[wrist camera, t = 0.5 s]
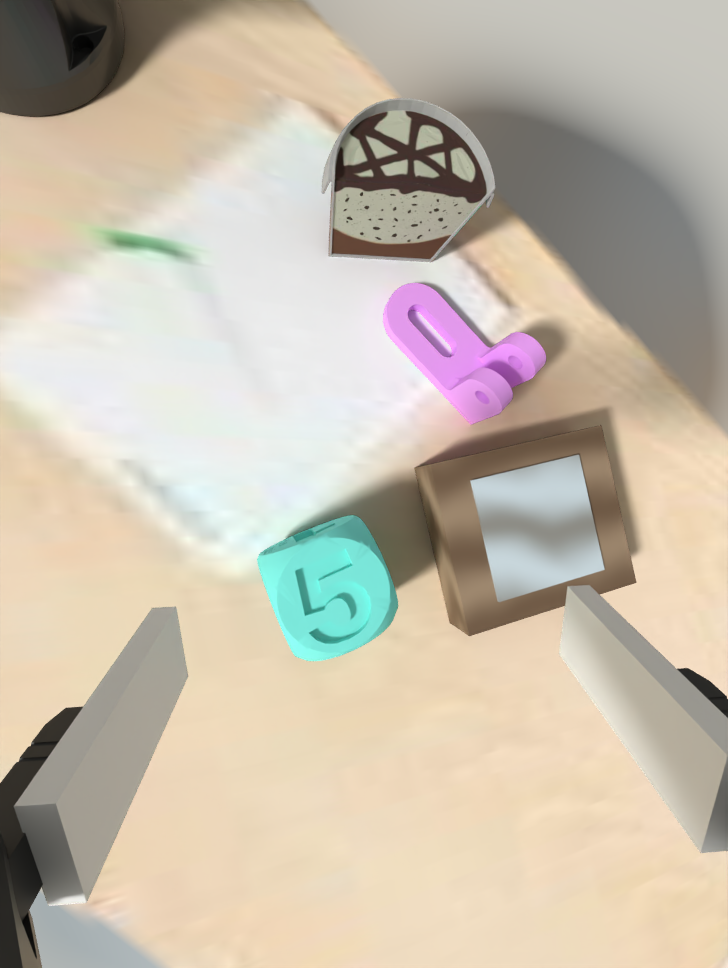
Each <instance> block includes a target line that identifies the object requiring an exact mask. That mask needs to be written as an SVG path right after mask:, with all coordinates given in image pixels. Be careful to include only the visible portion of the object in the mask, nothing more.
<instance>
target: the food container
mask: <svg viewBox="0 0 728 968" xmlns="http://www.w3.org/2000/svg"><path fill="white" fill-rule="evenodd" d="M330 182H332V188H331V210H330V232H329V256H332V257H350V258H367V259H385V260H402V261H420V262H432V261H433V260H434V259H435V258H436V257H437V256H438V254H439V253H440V252H441V251H442V250H443V249H444V248H445V246H446V245H447V244H448V243H449V242H450V241H451V240H452V239H453V237H454V236H455V235H456V234H457V233H458V232H459V231H460V229H461V228H462V227H463V226H464V225H465V224H466V223H467V222H468V220H469V219H470V218H471V217H472V216H473V215H474V214H475V212H476V211H477V210H478V209H479V208H480V207H481V206H482V204H483V203H484V202H485V201H486V206H487V208H488V207H489V206H490V204H491V202H492V199H493V197H494V195H495V194H494V190H495V189H496V187H495V180H494V175H493V171H492V167H491V164H490V162H489V159H488V157H487V155H486V152H485V150H484V149H483V148H482V145H481V144H480V142H479V141H478V139H477V138H476V137H475V136H474V134H473V133H472V132H471V130H470V129H469V128H468V127H467V126H466V125H465V124H464V123H463V122H462V121H461V120H459V119H458V118H457V117H455V116H454V115H452V114H451V113H450V112H448V111H446V110H444V109H443V108H441V107H439V106H436V105H434V104H431V103H429V102H426V101H421V100H416V99H408V98H397V99H388V100H385V101H381V102H378V103H375V104H373V105H371V106H369V107H367V108H365V109H364V110H363V111H361V112H360V113H359V114H358V115H356V116H355V117H354V118H353V119H352V120H351V121H350V122H349V123H348V125H347V126H346V127H345V128H344V129H343V130H342V132H341V134H340V135H339V137H338V138H337V140H336V142H335V144H334V146H333V148H332V150H331V152H330V154H329V157H328V160H327V162H326V165H325V168H324V173H323V179H322V193H323V194H324V193H325V191H326V189H327V187H328V185H329V183H330Z"/></svg>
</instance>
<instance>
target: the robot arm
mask: <svg viewBox="0 0 728 968" xmlns="http://www.w3.org/2000/svg"><path fill="white" fill-rule="evenodd" d="M123 49H124V24H123V19H122V15H121V11H120V8H119V5H118V1H117V0H0V112H3V113H8V114H13V115H21V116H45V115H53V114H58V113H62V112H66V111H69V110H72V109H74V108H77V107H79V106H81V105H83V104H85V103H87V102H88V101H90V100H91V99H93V98H94V97H96V96H97V95H98V94H99V93H100V92H101V91H102V90H103V89H104V88H105V87H106V86H107V85H108V84H109V82H110V81H111V80H112V78H113V77H114V75H115V73H116V71H117V69H118V67H119V64H120V61H121V58H122V54H123ZM559 655H560V656H561V658H562V659H563V660H564V662H565V663H566V665H567V666H568V667H569V669H570V670H571V672H572V673H573V674H574V676H575V677H576V679H577V680H578V681H579V683H580V684H581V686H582V687H583V688H584V690H585V691H586V693H587V694H588V695H589V697H590V698H591V700H592V701H593V703H594V704H595V705H596V707H597V708H598V710H599V711H600V712H601V714H602V715H603V717H604V718H605V719H606V721H607V722H608V724H609V725H610V726H611V728H612V729H613V731H614V732H615V733H616V735H617V736H618V738H619V739H620V740H621V742H622V743H623V745H624V746H625V747H626V749H627V750H628V752H629V753H630V755H631V756H632V757H633V759H634V760H635V762H636V763H637V764H638V766H639V767H640V769H641V770H642V771H643V773H644V774H645V776H646V777H647V778H648V780H649V781H650V783H651V784H652V785H653V787H654V788H655V790H656V791H657V792H658V794H659V795H660V797H661V798H662V799H663V801H664V802H665V804H666V805H667V807H668V808H669V809H670V811H671V812H672V814H673V815H674V816H675V818H676V819H677V821H678V822H679V823H680V825H681V826H682V828H683V829H684V830H685V832H686V833H687V835H688V836H689V837H690V839H691V840H692V842H693V843H694V844H695V846H696V847H697V849H698V850H699V851H700V853H706V852H718V851H728V699H727V696H726V695H725V694H723V693H722V692H721V691H720V690H719V689H718V688H717V687H716V686H715V685H714V684H712V683H711V682H710V681H709V680H707V679H705V678H704V677H702V676H700V675H699V674H697V673H695V672H694V671H692V670H690V669H688V668H683V669H676V668H675V667H674V666H673V665H672V664H671V663H670V662H669V661H668V660H667V659H666V658H665V657H664V656H663V655H662V654H661V653H660V652H658V651H657V650H656V649H655V648H654V647H653V646H652V645H651V644H650V643H649V642H648V641H647V640H646V639H645V638H644V637H643V636H642V635H641V634H640V633H639V632H638V631H637V630H636V629H635V628H634V627H632V626H631V625H630V624H629V623H628V622H627V621H626V620H625V619H624V618H623V617H622V616H621V615H620V614H619V613H618V612H617V611H616V610H615V609H614V608H613V607H612V606H611V605H610V604H609V603H608V602H606V601H605V600H604V599H603V598H602V597H601V596H600V595H599V594H598V593H597V592H596V591H595V590H594V589H593V588H592V587H591V586H590V585H582V586H568V587H567V595H566V603H565V611H564V619H563V627H562V635H561V643H560V651H559ZM187 678H188V673H187V667H186V661H185V655H184V650H183V644H182V638H181V632H180V626H179V620H178V615H177V609H176V607H162V608H152V609H151V611H150V612H149V613H148V615H147V616H146V618H145V619H144V621H143V622H142V623H141V625H140V626H139V628H138V629H137V631H136V632H135V634H134V635H133V636H132V638H131V639H130V641H129V642H128V644H127V645H126V646H125V648H124V649H123V651H122V652H121V654H120V655H119V656H118V658H117V659H116V661H115V662H114V664H113V665H112V666H111V668H110V669H109V671H108V672H107V674H106V675H105V676H104V678H103V679H102V681H101V682H100V684H99V685H98V687H97V688H96V689H95V691H94V692H93V694H92V695H91V697H90V698H89V699H88V701H87V702H86V704H85V705H84V707H72V708H65V709H64V710H63V711H61V712H60V713H59V714H58V715H56V716H55V717H54V718H53V719H52V720H50V721H49V722H48V723H47V724H45V726H44V727H43V728H42V730H41V731H40V732H39V734H38V735H37V736H36V737H35V739H34V740H33V741H32V743H31V746H29V747H28V748H27V749H26V751H25V752H24V753H23V754H22V756H21V757H20V760H19V762H16V764H15V765H14V766H13V768H12V769H11V770H10V771H9V773H8V774H7V775H6V777H5V778H4V779H3V781H2V782H1V783H0V968H42V965H41V960H40V955H39V950H38V945H37V940H36V935H35V930H34V925H33V920H32V917H31V914H30V911H29V909H30V907H31V905H32V903H33V902H34V900H35V898H36V896H37V894H38V892H39V891H40V889H41V887H42V889H43V892H44V895H45V898H46V901H47V903H48V906H53V905H65V904H77V903H87V901H88V898H89V896H90V894H91V892H92V890H93V887H94V885H95V883H96V881H97V878H98V876H99V874H100V872H101V869H102V867H103V865H104V863H105V861H106V858H107V856H108V854H109V852H110V849H111V847H112V845H113V843H114V840H115V838H116V836H117V834H118V832H119V829H120V827H121V825H122V823H123V820H124V818H125V816H126V814H127V811H128V809H129V807H130V805H131V802H132V800H133V798H134V796H135V794H136V791H137V789H138V787H139V785H140V782H141V780H142V778H143V776H144V773H145V771H146V769H147V767H148V765H149V762H150V760H151V758H152V756H153V753H154V751H155V749H156V747H157V744H158V742H159V740H160V738H161V736H162V733H163V731H164V729H165V727H166V724H167V722H168V720H169V718H170V715H171V713H172V711H173V709H174V707H175V704H176V702H177V700H178V698H179V695H180V693H181V691H182V689H183V686H184V684H185V682H186V680H187Z"/></svg>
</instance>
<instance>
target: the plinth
mask: <svg viewBox="0 0 728 968" xmlns="http://www.w3.org/2000/svg"><path fill="white" fill-rule="evenodd" d="M415 472H416V476H417V481H418V485H419V490H420V494H421V498H422V503H423V507H424V511H425V516H426V520H427V525H428V529H429V533H430V538H431V542H432V547H433V551H434V555H435V560H436V564H437V569H438V573H439V577H440V582H441V586H442V591H443V595H444V599H445V604H446V608H447V613H448V617H449V621H450V623H451V624H452V625H454V626H455V627H457V628H458V629H460V630H461V631H463V632H464V633H466V634H467V635H468V636H471V635H475V634H478V633H481V632H484V631H487V630H490V629H493V628H496V627H499V626H503V625H506V624H509V623H512V622H515V621H518V620H521V619H524V618H528V617H531V616H534V615H537V614H540V613H543V612H546V611H549V610H553V609H556V608H559V607H562V606H565V603H566V595H567V587H568V586H582V585H590V586H591V587H592V588H593V589H594V590H595V591H596V592H597V593H598V594H603V593H606V592H609V591H612V590H615V589H618V588H621V587H624V586H627V585H631V584H634V583H636V579H635V574H634V570H633V565H632V561H631V556H630V552H629V547H628V543H627V538H626V534H625V529H624V525H623V520H622V516H621V511H620V507H619V502H618V498H617V493H616V489H615V484H614V480H613V475H612V471H611V466H610V462H609V457H608V453H607V448H606V444H605V439H604V435H603V430H602V426H601V425H600V426H595V427H591V428H586V429H582V430H578V431H573V432H569V433H564V434H560V435H556V436H551V437H547V438H543V439H538V440H534V441H530V442H525V443H521V444H516V445H512V446H508V447H503V448H499V449H495V450H490V451H486V452H482V453H477V454H473V455H468V456H464V457H460V458H455V459H451V460H447V461H442V462H438V463H434V464H429V465H425V466H420V467H416V468H415Z"/></svg>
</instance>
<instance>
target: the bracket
mask: <svg viewBox="0 0 728 968" xmlns="http://www.w3.org/2000/svg"><path fill="white" fill-rule="evenodd" d="M410 310H415V311H418V312H419V313H420V314H421V315H422V316H423V317H424V318H425V319H426V320H427V321H428V322H429V324H430V325H431V326H432V327H433V328H434V329H435V330H436V331H437V332H438V333H439V334H440V336H441V337H442V338H443V339H444V340H445V341H446V342H447V343H448V344H449V345H450V347H451V350H452V354H451V357H444V356H442V355H441V354H440V353H439V352H438V351H437V350H436V349H435V348H434V346H433V345H432V344H431V343H430V342H429V341H428V340H427V339H426V338H425V337H424V336H423V335H422V333H421V332H420V331H419V330H418V329H417V328H416V327H415V326H414V325H413V324H412V323H411V322H410V320H409V318H408V311H410ZM383 323H384V327H385V330H386V332H387V334H388V336H389V337H390V339H391V340H392V341H393V342H394V343H395V344H396V345H397V346H398V348H399V349H400V350H401V351H402V352H403V353H404V354H405V355H406V356H407V357H408V358H409V359H410V360H411V361H412V362H413V364H414V365H415V366H416V367H417V368H418V369H419V370H420V371H421V372H422V373H423V374H424V375H425V376H426V377H427V378H428V380H429V381H430V382H431V383H432V384H433V385H434V386H435V387H436V388H437V389H438V390H439V391H440V392H441V393H442V394H443V395H444V397H445V398H446V399H447V400H448V401H449V402H450V403H451V404H452V405H453V406H454V407H455V408H456V409H457V410H458V411H459V413H460V414H461V415H462V416H463V417H464V418H465V419H466V420H467V421H468V422H469V423H470V424H474V423H476V422H479V421H482V420H484V419H487V418H490V417H492V416H495V415H498V414H499V413H500V412H501V411H502V410H503V409H504V408H505V407H506V406H507V405H508V404H509V403H510V402H511V400H512V399H513V392H512V389H511V388H513V387H515V386H517V385H519V384H521V383H523V382H525V381H528V380H530V379H532V378H533V377H534V376H535V375H536V373H537V372H538V371H539V370H540V369H541V368H542V367H543V366H544V365H545V362H546V354H545V352H544V350H543V348H542V346H541V345H540V344H539V343H538V342H537V341H536V340H535V339H534V338H533V337H531V336H529V335H527V334H525V333H521V332H515V333H512V334H510V335H509V336H507V337H506V338H504V339H503V340H502V341H500V342H499V343H497V344H496V345H494V346H493V347H491V348H490V347H487V346H486V345H485V344H484V343H483V342H482V341H481V340H480V339H479V338H478V336H477V335H476V334H475V333H474V332H473V331H472V330H471V329H470V328H469V327H468V325H467V324H466V323H465V322H464V321H463V320H462V319H461V318H460V317H459V316H458V314H457V313H456V312H455V311H454V310H453V309H452V308H451V307H450V306H449V305H448V303H447V302H446V301H445V300H444V299H443V298H442V297H441V296H440V295H439V294H438V293H437V292H436V291H435V290H434V289H432V288H431V287H429V286H427V285H424V284H420V283H410V284H406V285H403V286H401V287H400V288H398V289H397V290H396V291H395V292H394V293H393V294H392V296H391V297H390V299H389V301H388V302H387V304H386V306H385V309H384V314H383Z"/></svg>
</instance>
